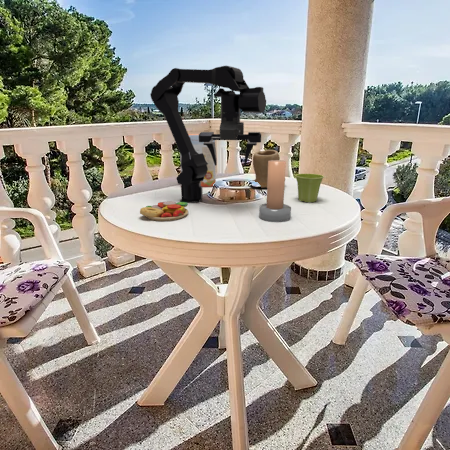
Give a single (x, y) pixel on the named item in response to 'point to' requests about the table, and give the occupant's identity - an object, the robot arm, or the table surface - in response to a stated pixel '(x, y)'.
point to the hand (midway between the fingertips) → (230, 165)
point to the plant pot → (308, 186)
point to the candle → (276, 184)
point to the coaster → (274, 213)
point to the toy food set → (165, 211)
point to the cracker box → (200, 148)
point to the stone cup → (263, 165)
